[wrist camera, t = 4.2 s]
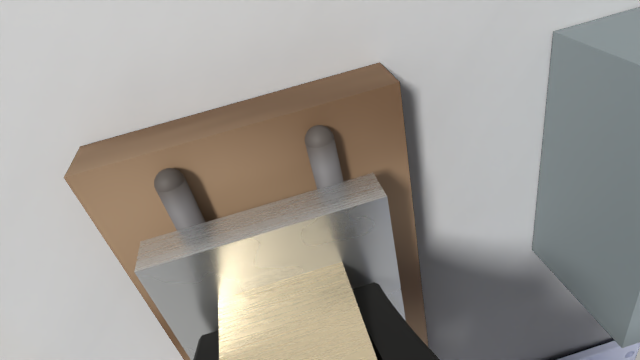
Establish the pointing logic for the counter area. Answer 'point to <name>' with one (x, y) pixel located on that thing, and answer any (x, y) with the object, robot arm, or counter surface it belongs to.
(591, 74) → the gauge box
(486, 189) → the counter surface
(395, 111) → the rail track
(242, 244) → the carriage
